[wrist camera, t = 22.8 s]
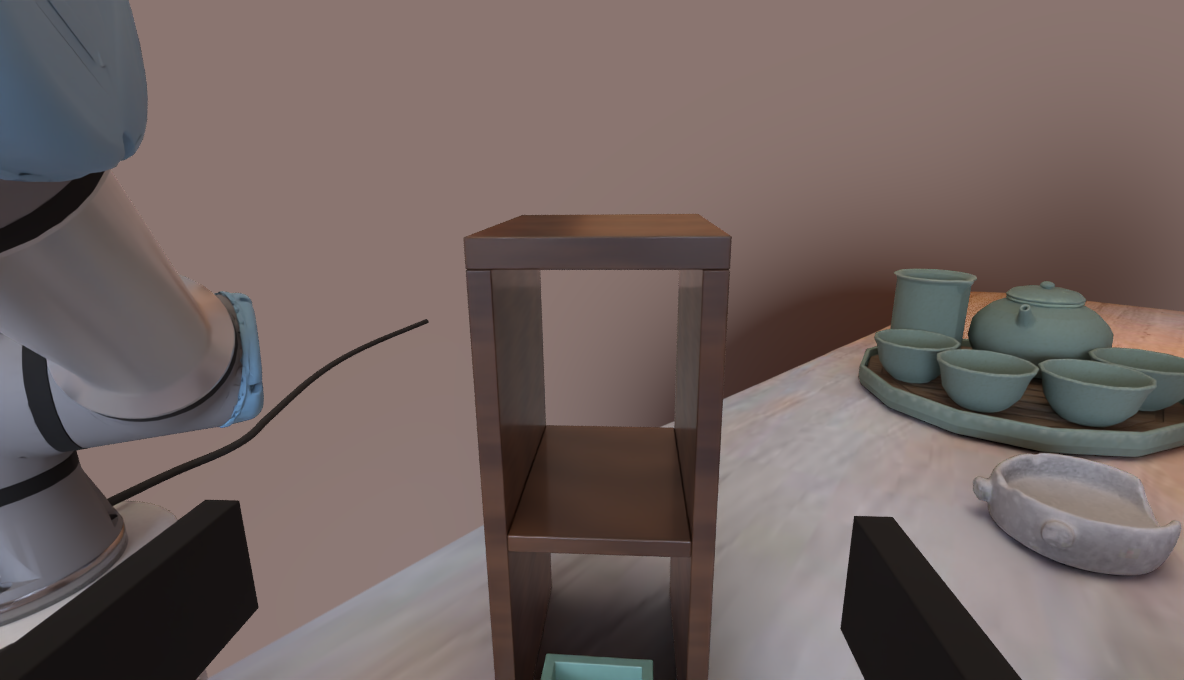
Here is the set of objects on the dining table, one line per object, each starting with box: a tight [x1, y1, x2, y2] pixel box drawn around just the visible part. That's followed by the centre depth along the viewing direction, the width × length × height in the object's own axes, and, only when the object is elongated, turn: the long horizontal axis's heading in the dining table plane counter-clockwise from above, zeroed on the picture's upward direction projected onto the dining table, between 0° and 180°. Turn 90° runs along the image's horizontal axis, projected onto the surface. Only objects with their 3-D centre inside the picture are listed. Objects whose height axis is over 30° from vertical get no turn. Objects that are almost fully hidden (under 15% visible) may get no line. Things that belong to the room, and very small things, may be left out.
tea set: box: [859, 269, 1184, 457], centre depth 84 cm, size 40×40×16 cm
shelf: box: [464, 214, 732, 680], centre depth 37 cm, size 14×12×30 cm
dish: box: [973, 453, 1181, 575], centre depth 54 cm, size 14×14×5 cm
